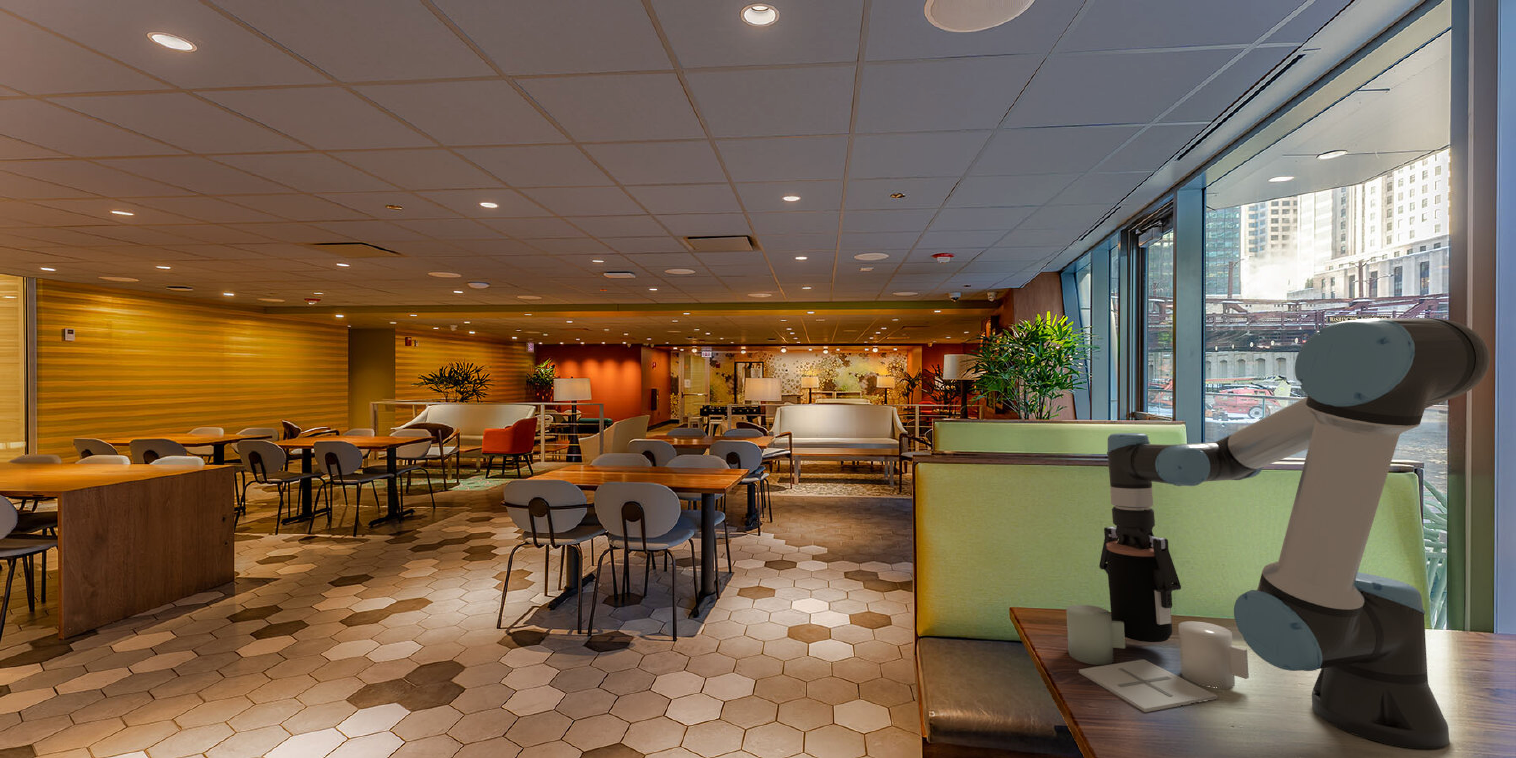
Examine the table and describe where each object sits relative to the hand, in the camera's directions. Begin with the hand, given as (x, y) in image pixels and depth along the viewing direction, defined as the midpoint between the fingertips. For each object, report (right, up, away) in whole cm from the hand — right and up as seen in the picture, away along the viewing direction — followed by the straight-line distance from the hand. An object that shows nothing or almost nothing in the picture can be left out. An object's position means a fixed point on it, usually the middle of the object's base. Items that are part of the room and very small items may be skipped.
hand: (1140, 614), depth 124 cm
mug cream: (+5, -7, -14) cm, 16 cm away
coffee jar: (0, -4, 0) cm, 4 cm away
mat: (-9, -7, -15) cm, 19 cm away
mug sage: (-11, -8, -3) cm, 13 cm away
